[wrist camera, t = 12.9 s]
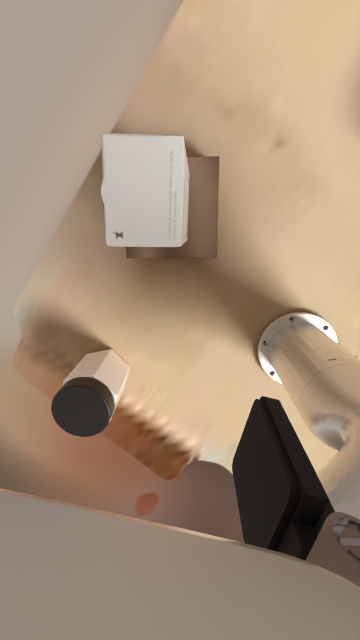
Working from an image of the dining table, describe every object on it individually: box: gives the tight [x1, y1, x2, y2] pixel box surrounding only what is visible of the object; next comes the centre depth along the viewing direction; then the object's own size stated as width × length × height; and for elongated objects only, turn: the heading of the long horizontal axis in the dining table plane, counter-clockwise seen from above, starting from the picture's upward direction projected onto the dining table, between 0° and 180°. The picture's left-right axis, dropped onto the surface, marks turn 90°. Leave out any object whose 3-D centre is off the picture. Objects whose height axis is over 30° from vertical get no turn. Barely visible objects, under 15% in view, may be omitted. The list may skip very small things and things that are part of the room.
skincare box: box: [101, 133, 190, 247], centre depth 29 cm, size 8×7×16 cm
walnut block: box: [126, 156, 219, 258], centre depth 40 cm, size 12×12×6 cm
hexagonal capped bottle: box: [51, 349, 130, 437], centre depth 45 cm, size 9×8×12 cm
